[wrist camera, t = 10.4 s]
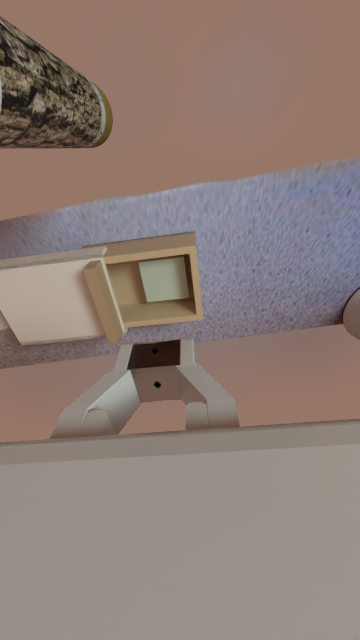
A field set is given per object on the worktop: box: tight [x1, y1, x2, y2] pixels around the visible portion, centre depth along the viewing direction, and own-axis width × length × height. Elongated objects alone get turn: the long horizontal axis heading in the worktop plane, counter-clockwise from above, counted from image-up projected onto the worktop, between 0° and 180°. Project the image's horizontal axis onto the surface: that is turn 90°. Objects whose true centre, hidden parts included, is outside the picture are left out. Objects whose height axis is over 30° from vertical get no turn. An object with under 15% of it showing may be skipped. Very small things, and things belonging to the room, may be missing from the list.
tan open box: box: [82, 232, 203, 328], centre depth 42 cm, size 18×12×7 cm, turn 98°
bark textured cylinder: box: [0, 16, 113, 148], centre depth 22 cm, size 7×7×25 cm
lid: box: [0, 246, 128, 346], centre depth 39 cm, size 18×14×6 cm
